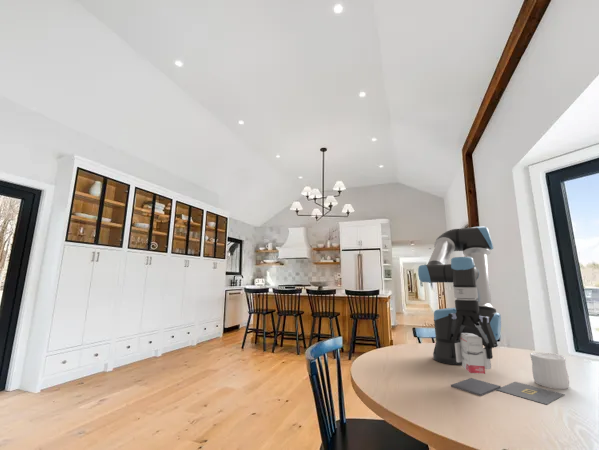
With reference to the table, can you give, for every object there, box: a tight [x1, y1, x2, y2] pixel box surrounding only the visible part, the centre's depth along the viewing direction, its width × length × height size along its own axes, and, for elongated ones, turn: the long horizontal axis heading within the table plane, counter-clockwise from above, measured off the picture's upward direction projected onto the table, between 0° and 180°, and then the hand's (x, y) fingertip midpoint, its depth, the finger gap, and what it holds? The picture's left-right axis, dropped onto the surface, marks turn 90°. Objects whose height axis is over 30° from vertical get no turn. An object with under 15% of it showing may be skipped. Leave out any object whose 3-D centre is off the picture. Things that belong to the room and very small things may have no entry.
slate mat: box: [495, 381, 565, 405], centre depth 96 cm, size 14×14×1 cm
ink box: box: [460, 333, 486, 375], centre depth 103 cm, size 9×5×12 cm, turn 168°
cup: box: [529, 352, 570, 390], centre depth 104 cm, size 10×10×10 cm
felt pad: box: [450, 377, 502, 397], centre depth 101 cm, size 10×13×1 cm
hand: (473, 365), depth 102 cm, fingers closed on ink box, 9 cm apart
